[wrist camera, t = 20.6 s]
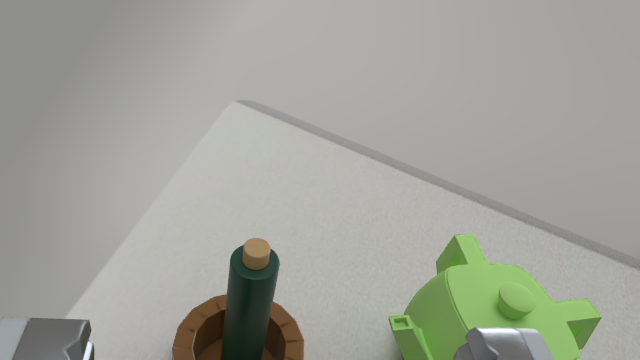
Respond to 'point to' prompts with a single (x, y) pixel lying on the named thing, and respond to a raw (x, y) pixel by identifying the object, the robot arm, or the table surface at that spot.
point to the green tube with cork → (249, 300)
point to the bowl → (207, 333)
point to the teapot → (486, 307)
